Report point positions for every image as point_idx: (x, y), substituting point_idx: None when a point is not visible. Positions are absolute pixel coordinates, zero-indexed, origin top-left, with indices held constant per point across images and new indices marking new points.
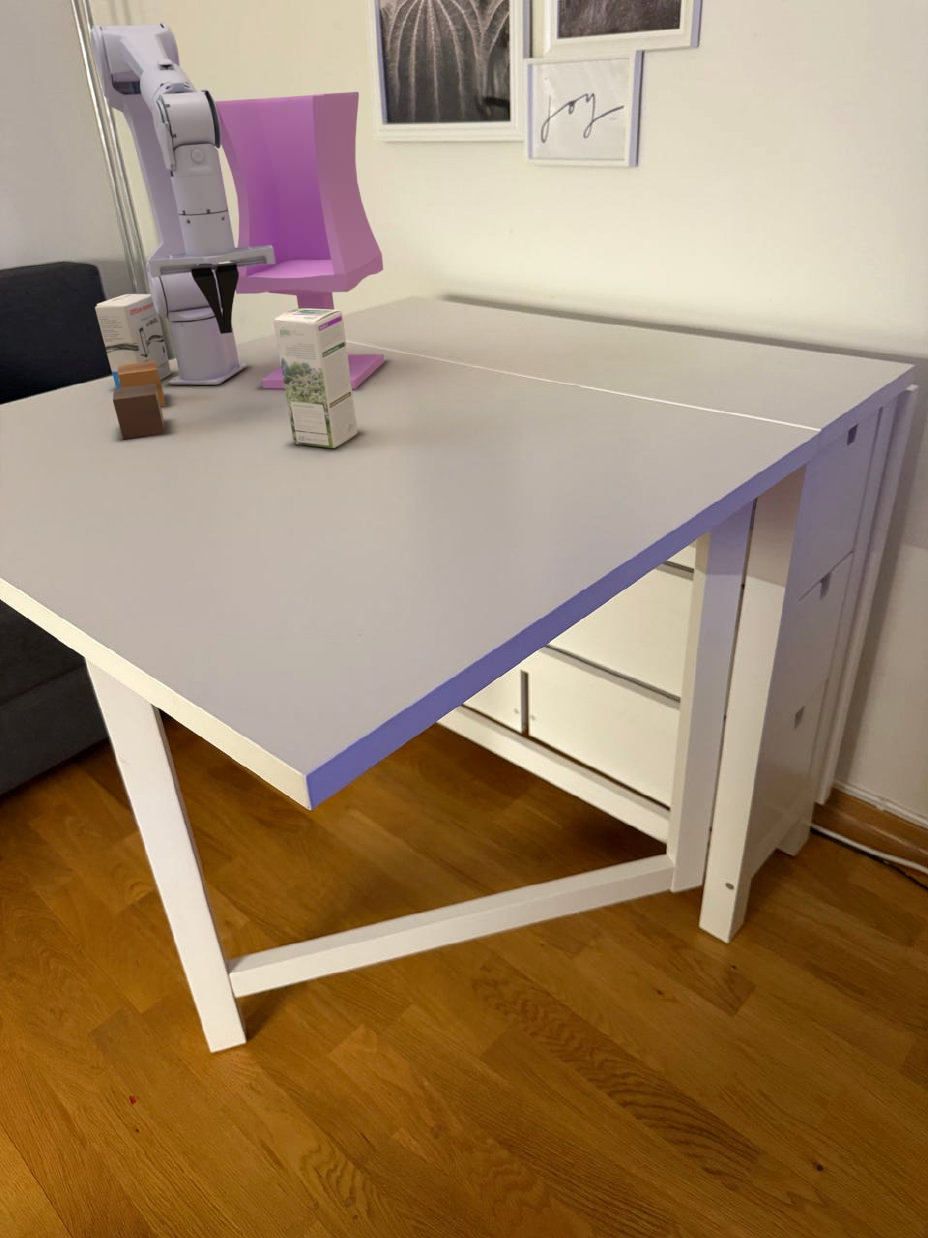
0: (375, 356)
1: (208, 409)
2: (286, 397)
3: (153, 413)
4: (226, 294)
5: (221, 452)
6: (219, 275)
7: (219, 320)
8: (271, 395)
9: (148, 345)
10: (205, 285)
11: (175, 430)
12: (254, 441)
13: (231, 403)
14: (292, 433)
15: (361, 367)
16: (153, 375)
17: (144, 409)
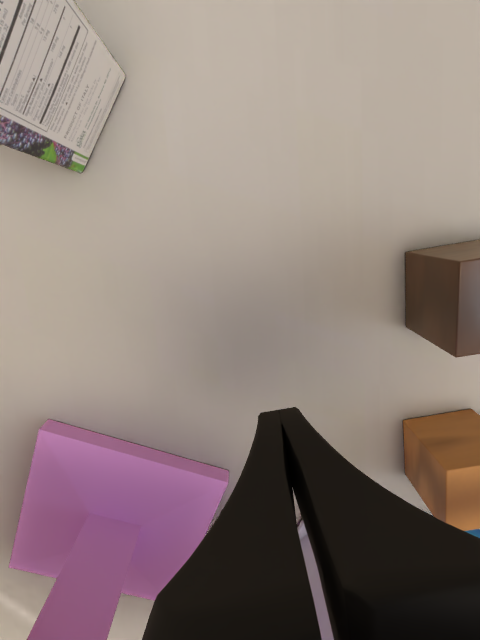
0: (20, 555)
1: (323, 378)
2: (75, 4)
3: (444, 254)
4: (263, 511)
5: (285, 78)
6: (307, 625)
7: (303, 427)
8: (209, 426)
9: None
10: (417, 539)
11: (384, 267)
12: (219, 136)
13: (281, 401)
14: (117, 63)
15: (35, 498)
16: (448, 459)
17: (470, 251)
